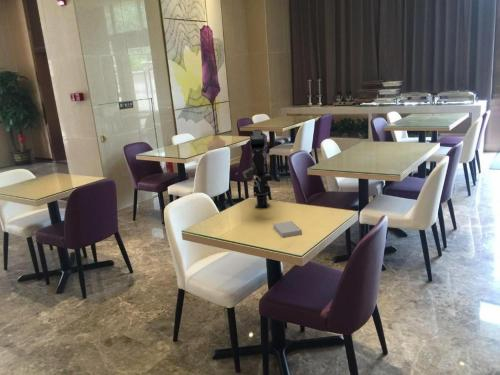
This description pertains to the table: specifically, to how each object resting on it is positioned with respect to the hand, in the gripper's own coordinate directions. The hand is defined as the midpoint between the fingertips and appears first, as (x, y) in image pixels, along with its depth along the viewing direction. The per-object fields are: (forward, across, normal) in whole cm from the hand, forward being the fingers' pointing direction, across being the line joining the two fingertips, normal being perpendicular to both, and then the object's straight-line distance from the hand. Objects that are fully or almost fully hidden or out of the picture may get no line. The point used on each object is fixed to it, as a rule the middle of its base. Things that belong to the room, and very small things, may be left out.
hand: (261, 192), depth 214 cm
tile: (+12, +19, +2) cm, 23 cm away
